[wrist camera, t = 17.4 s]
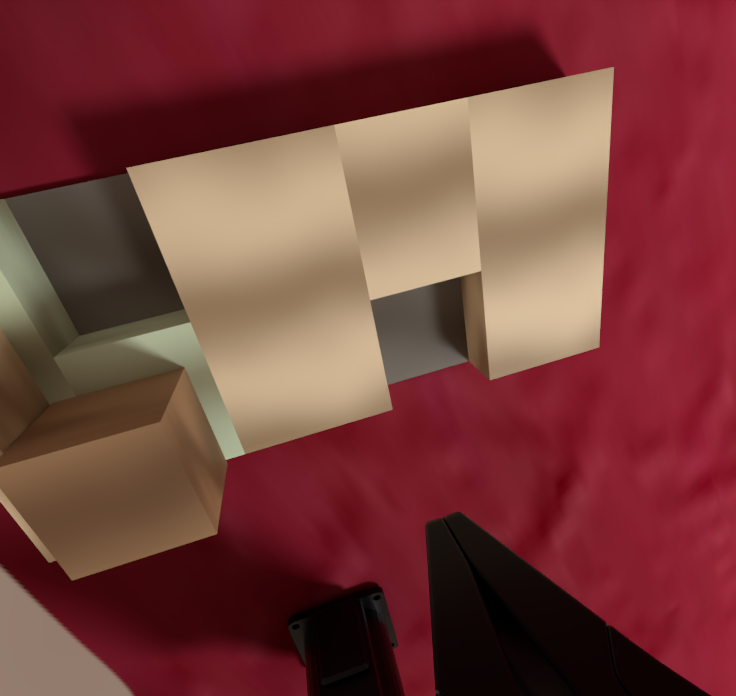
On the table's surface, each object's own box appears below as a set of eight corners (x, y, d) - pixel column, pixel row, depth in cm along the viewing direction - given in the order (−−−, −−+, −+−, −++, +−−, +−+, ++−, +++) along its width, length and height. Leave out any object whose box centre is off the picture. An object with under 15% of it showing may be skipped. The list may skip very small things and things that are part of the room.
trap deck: (566, 330, 23) (649, 373, 18) (104, 465, 20) (49, 562, 15) (569, 81, 18) (687, 42, 13) (-52, 211, 14) (-219, 227, 10)
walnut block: (227, 463, 18) (217, 533, 15) (112, 498, 18) (72, 580, 14) (184, 367, 16) (160, 421, 12) (52, 402, 15) (-14, 470, 12)
